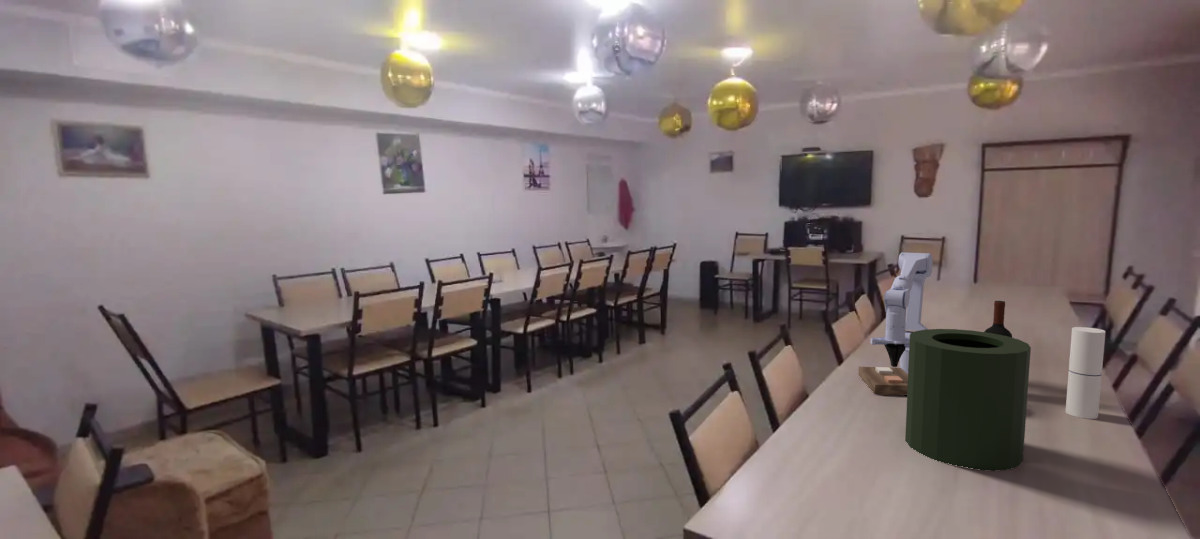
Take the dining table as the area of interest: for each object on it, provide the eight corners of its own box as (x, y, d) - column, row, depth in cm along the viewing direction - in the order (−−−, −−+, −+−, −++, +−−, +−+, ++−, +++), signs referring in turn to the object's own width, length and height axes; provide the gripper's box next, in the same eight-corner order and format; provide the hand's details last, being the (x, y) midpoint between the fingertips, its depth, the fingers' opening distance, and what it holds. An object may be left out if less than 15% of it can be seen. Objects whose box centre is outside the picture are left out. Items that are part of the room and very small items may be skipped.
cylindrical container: (1069, 416, 159) (1076, 331, 156) (1062, 408, 165) (1068, 326, 162) (1101, 420, 155) (1109, 333, 152) (1093, 411, 162) (1100, 328, 159)
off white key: (888, 376, 195) (888, 367, 194) (892, 380, 191) (892, 371, 190) (875, 375, 196) (875, 366, 195) (878, 379, 191) (879, 370, 191)
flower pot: (966, 477, 126) (973, 358, 122) (882, 434, 150) (886, 333, 147) (1049, 461, 132) (1058, 347, 129) (956, 422, 156) (961, 325, 153)
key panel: (900, 377, 197) (900, 367, 196) (921, 396, 177) (922, 386, 177) (858, 375, 199) (858, 366, 199) (874, 394, 180) (875, 384, 180)
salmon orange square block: (898, 385, 185) (898, 376, 185) (902, 389, 181) (903, 380, 180) (883, 384, 186) (884, 375, 186) (888, 389, 182) (888, 379, 181)
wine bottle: (999, 388, 183) (1005, 299, 179) (1014, 396, 175) (1020, 303, 172) (975, 388, 184) (980, 299, 180) (988, 396, 176) (994, 303, 173)
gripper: (875, 328, 178) (874, 369, 180) (924, 329, 176) (922, 370, 177) (869, 323, 185) (867, 362, 187) (916, 324, 183) (914, 364, 184)
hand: (894, 366), depth 183 cm, fingers closed
